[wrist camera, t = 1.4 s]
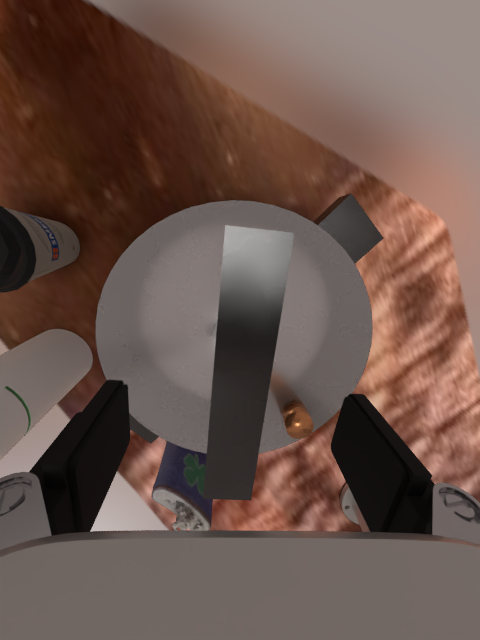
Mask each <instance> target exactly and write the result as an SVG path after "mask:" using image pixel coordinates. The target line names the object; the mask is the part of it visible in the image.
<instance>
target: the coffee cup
mask: <svg viewBox="0 0 480 640" xmlns="http://www.w3.org/2000/svg"><path fill="white" fill-rule="evenodd" d="M79 251H80V245H79V241H78V238H77V236H76V234H75V233H74V232H73V231H72V229H70V228H69V227H68V226H67V225H65V224H62V223H60V222H57V221H53V220H49V219H46V218H42V217H38V216H34V215H30V214H26V213H22V212H19V211H15V210H11V209H7V208H3V207H2V206H0V292H9V291H13V290H17V289H19V288H20V287H22V286H23V285H25V284H26V283H28V282H29V281H31V280H33V279H36V278H38V277H40V276H43V275H45V274H47V273H50V272H52V271H54V270H57V269H59V268H61V267H64V266H66V265H68V264H70V263H72V262H73V261H75V260H76V258H77V257H78V255H79Z"/></svg>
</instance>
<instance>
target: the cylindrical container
mask: <svg viewBox="0 0 480 640" xmlns="http://www.w3.org/2000/svg"><path fill="white" fill-rule="evenodd" d="M92 362H93V356H92V352H91V350H90V348H89V346H88V344H87V343H86V342H85V341H84V340H83V339H82V338H81V337H80V336H78V335H76V334H75V333H73V332H70V331H67V330H64V329H51V330H47V331H45V332H43V333H41V334H39V335H37V336H35V337H33V338H32V339H30V340H28V341H26V342H24V343H22V344H20V345H19V346H17V347H15V348H13V349H11V350H9V351H7V352H5V353H4V354H2V355H0V460H1V459H2V458H3V457H4V456H5V455H6V454H7V453H8V452H9V451H10V450H11V449H12V448H13V447H14V446H15V445H16V444H17V443H18V442H19V441H20V440H21V439H22V438H23V436H25V435H26V434H27V433H28V432H29V431H30V430H31V429H32V428H33V427H34V426H35V425H36V424H37V423H38V422H39V421H40V420H41V419H42V418H43V417H44V416H45V415H46V414H47V413H48V412H49V411H50V410H51V409H52V408H53V407H54V406H55V405H56V404H57V403H58V402H59V401H60V400H61V399H62V398H63V397H64V396H65V395H66V394H67V393H68V392H69V391H70V390H71V389H72V388H73V387H74V386H75V385H76V384H77V383H78V382H79V381H80V380H81V379H82V378H83V377H84V376H85V375H86V374H87V373H88V372H89V370H90V369H91V367H92Z"/></svg>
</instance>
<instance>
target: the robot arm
mask: <svg viewBox="0 0 480 640" xmlns="http://www.w3.org/2000/svg"><path fill="white" fill-rule="evenodd" d="M129 441H130V419H129V398H128V385H127V384H124V383H123V381H122V380H107V381H106V382H105V383H104V384H103V386H102V387H101V388H100V390H99V391H98V392H97V393H96V395H95V396H94V397H93V399H92V400H91V401H90V402H89V404H88V405H87V406H86V408H85V409H84V410H83V411H82V412H79V413H77V414H76V415H75V416H74V417H73V418H72V419H71V420H70V422H69V423H68V424H67V425H66V427H65V428H64V429H63V430H62V432H61V433H60V434H59V435H58V437H57V438H56V439H55V440H54V442H53V443H52V444H51V445H50V447H49V448H48V449H47V450H46V452H45V453H44V454H43V455H42V457H41V458H40V459H39V460H38V462H37V463H36V464H35V465H34V467H33V468H32V469H31V470H30V472H20V473H14V474H11V475H8V476H5V477H3V478H0V640H480V503H479V502H478V501H477V500H476V499H475V498H474V497H472V496H471V495H470V494H469V493H467V492H465V491H464V490H462V489H460V488H458V487H456V486H454V485H451V484H447V483H437V484H436V485H435V484H434V483H433V482H432V480H431V477H432V475H431V474H430V473H429V471H428V470H427V469H426V468H425V467H424V465H423V464H422V463H421V462H420V461H419V459H418V458H417V457H416V456H415V455H414V453H413V452H412V451H411V450H410V449H409V448H408V446H407V445H406V444H405V443H404V442H403V440H402V439H401V438H400V437H399V436H398V434H397V433H396V432H395V431H394V430H393V428H392V427H391V426H390V425H389V424H388V423H387V421H386V420H385V419H384V418H383V417H382V415H381V414H380V413H379V412H378V411H377V409H376V408H375V407H374V406H373V405H372V403H371V402H370V401H369V400H368V399H367V398H366V396H365V395H363V394H349V395H348V397H345V398H344V400H343V404H342V407H341V411H340V414H339V418H338V421H337V425H336V428H335V432H334V435H333V439H332V442H331V450H332V453H333V455H334V457H335V459H336V462H337V464H338V466H339V468H340V470H341V472H342V474H343V476H344V478H345V480H346V482H347V483H346V485H345V486H344V488H343V490H342V492H341V495H340V504H341V508H342V510H343V512H344V514H345V516H346V517H347V518H348V519H349V520H351V521H352V522H354V523H356V524H359V525H360V527H361V529H362V531H363V532H335V531H159V530H158V531H157V530H154V531H151V530H150V531H149V530H146V531H94V532H90V530H91V528H92V526H93V524H94V521H95V519H96V517H97V515H98V512H99V510H100V508H101V506H102V503H103V501H104V499H105V497H106V494H107V492H108V490H109V488H110V485H111V483H112V481H113V479H114V476H115V474H116V472H117V470H118V467H119V465H120V463H121V461H122V458H123V456H124V454H125V452H126V449H127V447H128V445H129Z"/></svg>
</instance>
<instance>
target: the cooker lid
mask: <svg viewBox="0 0 480 640" xmlns="http://www.w3.org/2000/svg"><path fill="white" fill-rule="evenodd" d="M371 340H372V311H371V306H370V301H369V296H368V293H367V290H366V287H365V285H364V282H363V279H362V277H361V275H360V273H359V271H358V269H357V268H356V266H355V264H354V262H353V261H352V259H351V258H350V257H349V255H348V254H347V253H346V251H345V250H344V249H343V247H342V246H341V245H340V244H339V243H338V242H337V241H336V240H335V239H334V238H333V237H332V236H331V235H330V234H328V233H327V232H326V231H324V230H323V229H322V228H320V227H319V226H318V225H316V224H315V223H313V222H312V221H310V220H308V219H306V218H304V217H302V216H300V215H299V214H297V213H295V212H292V211H289V210H286V209H283V208H281V207H278V206H275V205H270V204H265V203H260V202H254V201H235V200H231V201H221V202H211V203H207V204H202V205H198V206H194V207H190V208H188V209H185V210H183V211H180V212H178V213H175V214H173V215H170V216H169V217H167V218H165V219H163V220H162V221H160V222H158V223H157V224H155V225H153V226H152V227H150V228H149V229H148V230H147V231H145V232H144V233H143V234H142V235H140V236H139V237H138V238H137V239H136V240H135V241H134V242H133V243H132V244H131V245H130V246H129V247H128V248H127V249H126V250H125V252H124V253H123V254H122V255H121V257H120V258H119V260H118V261H117V263H116V264H115V266H114V267H113V269H112V270H111V272H110V274H109V276H108V279H107V281H106V283H105V285H104V287H103V290H102V294H101V297H100V300H99V304H98V310H97V317H96V343H97V350H98V356H99V360H100V363H101V366H102V369H103V373H104V375H105V377H106V379H107V380H122V381H123V383H124V384H127V385H128V398H129V413H130V414H131V415H132V416H133V417H134V418H135V419H136V420H137V421H138V422H139V423H140V424H142V425H143V426H144V427H146V428H147V429H149V430H150V431H151V432H153V433H154V434H156V435H158V436H159V437H161V438H163V439H165V440H166V441H169V442H171V443H173V444H176V445H178V446H180V447H183V448H186V449H189V450H193V451H196V452H201V453H206V454H207V455H206V467H205V480H204V492H203V499H231V500H251V496H252V490H253V484H254V478H255V472H256V466H257V459H258V453H263V452H268V451H272V450H275V449H278V448H281V447H284V446H287V445H289V444H291V443H294V442H296V441H298V440H300V439H302V438H305V437H307V436H308V435H310V434H311V433H312V432H314V431H315V430H316V429H318V428H319V427H321V426H322V425H323V424H325V423H326V422H327V421H328V420H329V419H330V418H331V417H332V416H334V415H335V414H336V413H337V412H338V410H339V409H340V408H341V407H342V404H343V400H344V398H345V397H348V395H349V394H352V392H353V391H354V389H355V388H356V386H357V384H358V382H359V380H360V378H361V376H362V374H363V371H364V369H365V366H366V363H367V360H368V356H369V352H370V347H371Z"/></svg>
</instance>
